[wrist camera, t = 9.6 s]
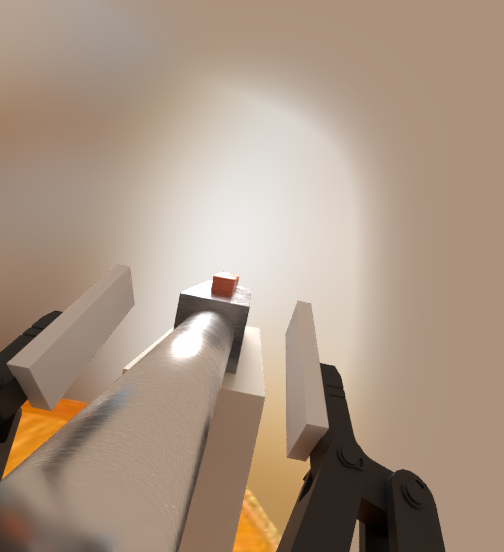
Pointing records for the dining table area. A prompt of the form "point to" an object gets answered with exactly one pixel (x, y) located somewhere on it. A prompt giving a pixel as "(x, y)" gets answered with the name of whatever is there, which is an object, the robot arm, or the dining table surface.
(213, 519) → the tall stand
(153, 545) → the grey piece
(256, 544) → the dining table surface
